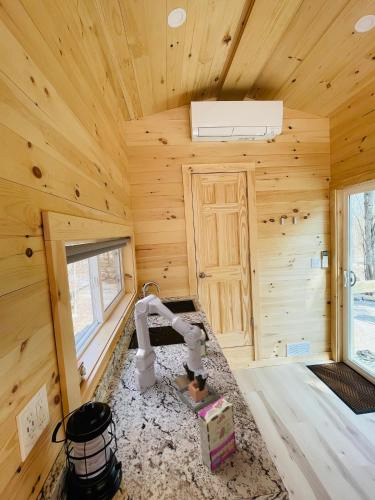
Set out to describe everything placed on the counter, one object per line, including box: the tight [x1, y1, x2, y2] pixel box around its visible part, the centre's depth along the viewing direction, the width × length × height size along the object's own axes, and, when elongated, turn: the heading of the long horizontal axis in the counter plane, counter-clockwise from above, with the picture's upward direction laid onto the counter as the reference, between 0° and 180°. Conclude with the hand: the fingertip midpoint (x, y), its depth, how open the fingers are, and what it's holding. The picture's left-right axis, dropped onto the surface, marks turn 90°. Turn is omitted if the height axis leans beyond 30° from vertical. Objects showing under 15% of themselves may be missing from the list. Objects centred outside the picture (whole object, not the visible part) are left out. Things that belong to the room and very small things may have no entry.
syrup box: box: [200, 328, 208, 358], centre depth 133 cm, size 6×6×14 cm
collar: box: [188, 381, 207, 403], centre depth 101 cm, size 7×6×5 cm
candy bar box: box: [197, 396, 237, 472], centre depth 74 cm, size 11×5×16 cm, turn 126°
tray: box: [175, 380, 221, 413], centre depth 101 cm, size 14×14×2 cm
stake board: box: [172, 369, 196, 389], centre depth 112 cm, size 10×7×6 cm
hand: (196, 385), depth 101 cm, fingers open, 7 cm apart
